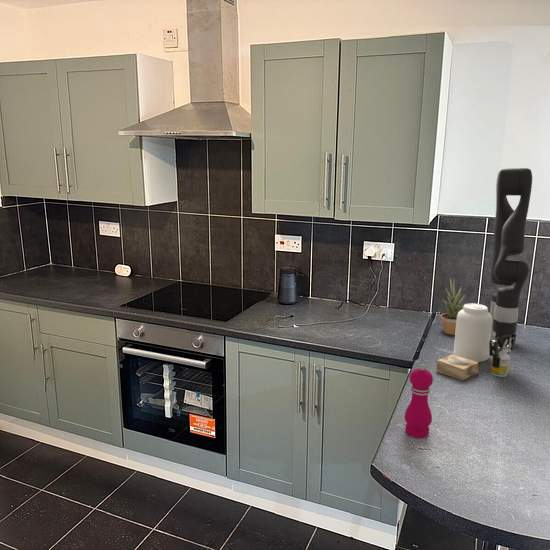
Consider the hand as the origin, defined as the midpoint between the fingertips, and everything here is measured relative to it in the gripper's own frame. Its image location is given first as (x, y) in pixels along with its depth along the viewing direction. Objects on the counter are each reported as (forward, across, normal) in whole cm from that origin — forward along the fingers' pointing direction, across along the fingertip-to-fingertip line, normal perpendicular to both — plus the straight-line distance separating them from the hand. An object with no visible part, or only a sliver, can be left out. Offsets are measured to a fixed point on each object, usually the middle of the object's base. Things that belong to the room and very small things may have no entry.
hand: (500, 364), depth 180 cm
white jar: (+4, -7, -15) cm, 17 cm away
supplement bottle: (+4, 0, 0) cm, 4 cm away
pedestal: (+3, +10, -10) cm, 15 cm away
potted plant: (+4, -25, -35) cm, 43 cm away
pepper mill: (+4, +55, +6) cm, 55 cm away
